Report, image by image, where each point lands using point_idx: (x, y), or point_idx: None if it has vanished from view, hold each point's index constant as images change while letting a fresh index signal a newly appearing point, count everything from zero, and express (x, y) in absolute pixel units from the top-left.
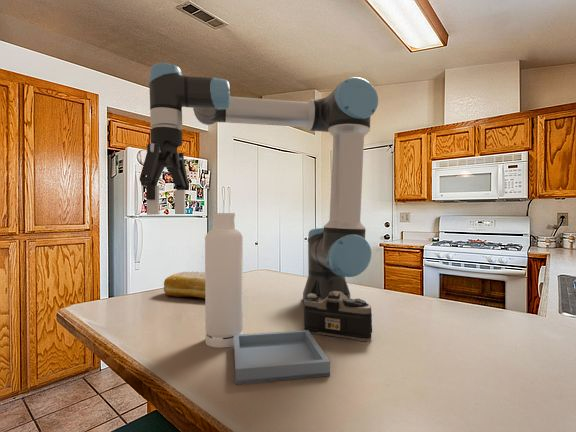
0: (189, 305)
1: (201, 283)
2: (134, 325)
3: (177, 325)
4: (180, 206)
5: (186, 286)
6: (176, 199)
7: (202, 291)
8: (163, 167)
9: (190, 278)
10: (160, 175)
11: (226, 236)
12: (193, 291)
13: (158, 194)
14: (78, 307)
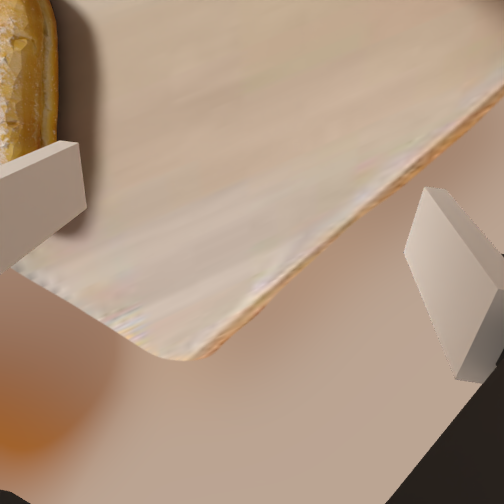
0: (114, 107)
1: (25, 93)
2: (288, 182)
3: (288, 74)
4: (51, 187)
5: (38, 146)
6: (24, 239)
7: (45, 85)
8: (435, 490)
9: (11, 141)
10: (492, 378)
11: None
12: (49, 117)
13: (480, 248)
14: (175, 345)
